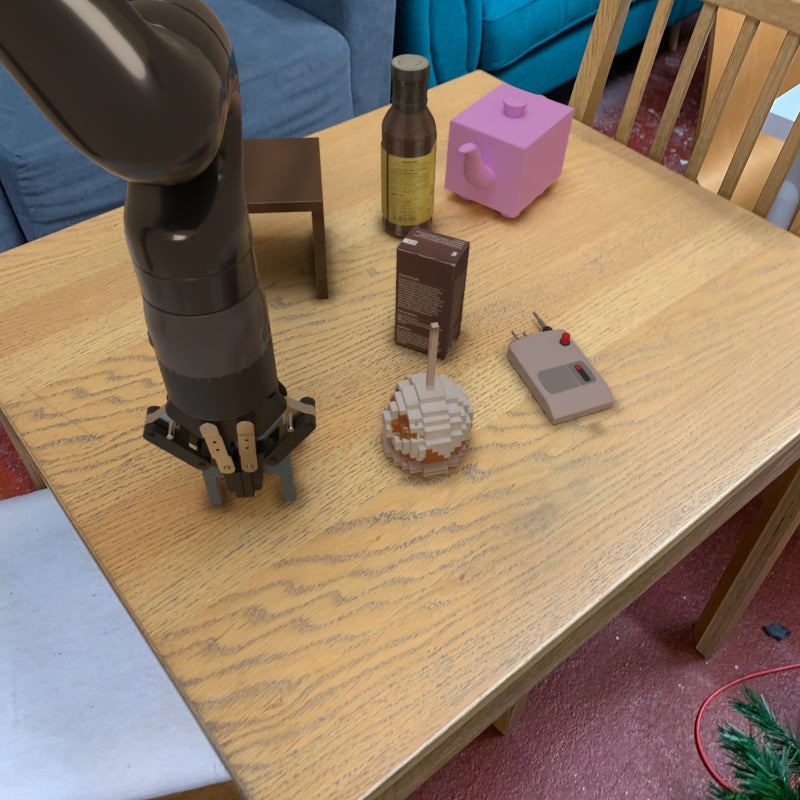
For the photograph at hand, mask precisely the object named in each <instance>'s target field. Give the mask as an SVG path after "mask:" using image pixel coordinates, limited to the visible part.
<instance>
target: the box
mask: <svg viewBox="0 0 800 800" xmlns="http://www.w3.org/2000/svg"><path fill="white" fill-rule="evenodd" d="M470 247H471V242H470V241H468V240H464V239H461V238H457V237H453V236H450V235H446V234H443V233H439V232H436V231H432V230H430V229H429V230H426V229H422V228H419V227H416V226H414V227H413V228H412V230H411V231H410V232H409V233H408V235H407V236H406V237H405V238H403V240H401V242H400V243H399V245H397V246H396V251H395V253H396V255H395V256H396V257H395V259H396V261H395V262H396V263H395V265H396V266H395V305H394V307H395V308H394V333H393V334H394V337H393V340H394V343H395V344H399V345H402V346H405V347H409V348H411V349H414V350H417V351H420V352H423V353H426V354H428V349H429V336H430V324H431V323H436V322H438V325H439V336H438V347H437V357H438V358H441V359H444V360H445V359H447V357H448V356H449V354H450V353H451V351H452V350H453V348H454V346H455V344H456V343H457V341H458V339H459V337H460V336H461V330H462V329H461V328H462V320H463V309H464V300H465V293H466V284H467V275H468V265H469V258H470V257H469V255H470Z"/></svg>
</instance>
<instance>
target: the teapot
mask: <svg viewBox="0 0 800 800" xmlns="http://www.w3.org/2000/svg"><path fill="white" fill-rule="evenodd" d="M575 110H576V109H575V108H574V107H573V106H569V105H566V104H563V103H561V102H558V101H555V100H552V99H549V98H547V96H545V95H542V94H536V93H532V92H529V91H527V90H523V89H521V88H518V87H515V86H512V85H510V84H506V83H504V82H503V83H501V84H499V85H497V86H496V87H495V88H493V89H492V90H491V91H489V92H488V93H486V94H484V95H483V96H481V98H479V99H477V100H476V101H475V102H473V103H472V104H471V105H469V106H468V107H466V108H465V109H464V110H462V111H461V112H459V113H457V115H455V116H454V117H453V118H451V119H450V120H449V127H448V140H447V152H446V163H445V174H444V175H445V176H444V188H443V189H445V190H448V191H450V192H452V193H455V194H457V195H458V196H459V197H460V198H461V199H463V200H466V201H473V202H476V203H478V204H480V205H483V206H485V207H488V208H489V209H492V210H494V211H497V212H499V213H500V215H501V216H502V217H505V218H508V219H514V218H518V217H519V216H520V215H521V212H522V211H523V210H524V209H526V207H528V206H529V205H530V204H531V203H532V202H533V201H535V199H537V198H538V197H539V196H541V195H543V194H544V193H545V190H547V188H549V187H550V186H551V185H552V184H553V183H554V182H556V180H557V179H559V177H561V175H562V171H563V167H564V161H565V157H566V154H567V153H566V152H567V148H568V144H569V143H568V142H569V140H570V139H569V138H570V134H571V128H572V124H573V119H574V114H575Z"/></svg>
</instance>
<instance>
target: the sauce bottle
mask: <svg viewBox="0 0 800 800" xmlns="http://www.w3.org/2000/svg"><path fill="white" fill-rule="evenodd" d="M430 74H431V64H430V61H429V60H428V59H427V57H425V56H423V55H419V54H412V53H407V54H406V53H405V54H399V55H397V56H394V57H393V58H392V59H391V61H390V76H391V78H392V94H391V105H390V107H389V108H388V110H387V111H386V112H385V114H384V116H383V118H382V121H381V142H380V185H381V186H380V188H381V191H380V192H381V193H380V195H381V215H382V218H381V221H382V225H383V228H384V229H385V231H386V232H387V233H388V234H390V235H391V236H393V237H394V236H395V237H398V238H403V239H404V238H405V237H406V236H407V235H408V233H409V232H410V231H411V230H412V228H413V227H414V226H416V227H419V228H422V229H426V230H429V231H430V228H431V225H432V224H433V223H432V222H433V214H434V208H435V184H436V183H435V181H436V165H437V164H436V163H437V159H436V158H437V142H438V131H437V123H436V119H435V117H434V115H433V113H432V112H431V110H430V108H429V106H428V101H429V97H428V90H429V87H428V86H429V85H428V82H429V77H430Z"/></svg>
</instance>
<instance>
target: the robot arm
mask: <svg viewBox="0 0 800 800" xmlns="http://www.w3.org/2000/svg"><path fill="white" fill-rule="evenodd" d="M0 64H1V66H3V68H4V69H5V70H6V71H7V73H8V74H9V75H10V76H11V77H12V79H13V80H14V81H15V82H16V84H17V85H18V86H19V87H20V88H21V90H22V91H23V92H24V93H25V94H26V96H27V97H28V98H29V99H30V101H31V102H32V104H34V105H35V106H36V108H37V109H38V110H39V111H40V113H41V114H42V115H43V116H44V117H45V118H46V120H47V121H48V122H49V123H50V124H51V125H52V126H53V127H54V129H56V131H57V132H58V133H59V134H60V135H61V136H62V137H63V138H64V139H65V140H66V141H67V142H68V143H69V144H70V145H71V146H72V147H74V148H75V149H76V150H77V151H78V152H79V153H81V155H83V156H84V157H86V158H87V159H88V160H89V161H91V162H93V163H94V164H96V165H97V166H98V167H100V168H101V169H102V170H105V171H106V172H108V173H110V174H112V175H114V176H116V177H118V178H120V179H123V180H125V181H127V182H126V183H127V184H126V185H127V186H126V193H125V200H124V206H123V215H122V217H123V220H122V221H123V232H124V238H125V241H126V245H127V250H128V254H129V256H130V260H131V263H132V266H133V270H134V273H135V276H136V280H137V282H138V286H139V290H140V294H141V298H142V299H141V300H142V308H143V314H144V320H145V325H146V328H147V331H146V332H147V338H148V341H149V344H150V346H151V347H152V349H153V351H154V355H155V358H156V361H157V365H158V367H159V370H160V374H161V378H162V381H163V384H164V388H165V390H166V391H165V392H166V403H165V404H164V405H162V406H159V405H150V406H148V407H147V409H146V413H145V416H144V423H143V429H142V438H143V440H145V441H146V442H149V443H150V444H152V445H153V446H155V447H157V448H159V449H160V450H163V451H164V452H166V453H167V454H169V455H170V456H173V457H174V458H177V459H178V460H180V461H182V462H184V463H186V464H187V465H188V466H191V467H193V468H194V469H196V470H198V471H201V470H207V469H209V468H210V466H214V467H218V468H219V470H220V471H221V472H222V473H223V476H224V477H223V480H224V484H225V487H226V490H227V492H229V493H232V494H233V493H235V496H236V499H244V498H245V499H246V498H256V492H261V491H262V489H263V486H264V485H263V484H264V475H263V470H262V466H261V465H262V464H264V463H266V464H267V465H270V466H274V465H278V464H279V463H280V462H281V461H282V460H283V459H284V458H285V457H286V456H287V455H289V454H290V453H291V452H292V453H293V452H294V450H295V449H296V448H297V447H298V446H300V444H301V443H302V442H303V441H305V440H306V439H307V438H308V437H309V436H310V435H311V434H312V433H313V432H314V431H315V430H316V429H317V412H316V411H317V410H316V409H317V408H316V400H315V399H314V398H313V397H312V396H303V397H301V398H300V399H299V400H298V399H295V398H293V397H291V396H288V390H287V387H286V386H285V385H284V383H282V382H281V380H280V379H279V377H278V370H277V363H276V356H275V349H274V343H273V342H274V341H273V335H272V334H273V333H272V329H271V322H270V314H269V307H268V301H267V295H266V293H265V289H264V286H263V283H262V279H261V276H260V273H259V267H258V259H257V253H256V247H255V240H254V239H255V238H254V234H253V233H254V232H253V228H252V221H251V219H250V214H248V210H247V204H246V198H245V189H244V159H243V139H244V132H243V131H244V129H243V112H242V109H243V108H242V96H241V84H240V77H239V76H240V75H239V69H238V63H237V58H236V54H235V49H234V47H233V44H232V40H231V39H230V36H229V34H228V32H227V30H226V28H225V26H224V24H223V23H222V21H221V20H220V18H219V16H217V14H216V13H215V12H214V11H213V9H212V8H211V7H210V6H209V5H207V3H206V2H205V1H203V0H0ZM282 414H283V417H282V418H281V419H280V420H279V421H278V422H277V423H276V424H275V425H274V426H273V427H272V428H271V429H270V430H269V431H268V432H267V433H266V435H265V438H264V439H261V440H258V437H260V436H262V435H263V434H264V433H265V432H266V431H267V430H268V429H269V428H270V427H271V426H272V425H273V423H274V422H275V421H276V420H277V419H278V418H279V417H280V416H281V415H282ZM236 441H237V442H238V444H239V451H237V443H236ZM191 446H193V447H195V448H193V447H191Z"/></svg>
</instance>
